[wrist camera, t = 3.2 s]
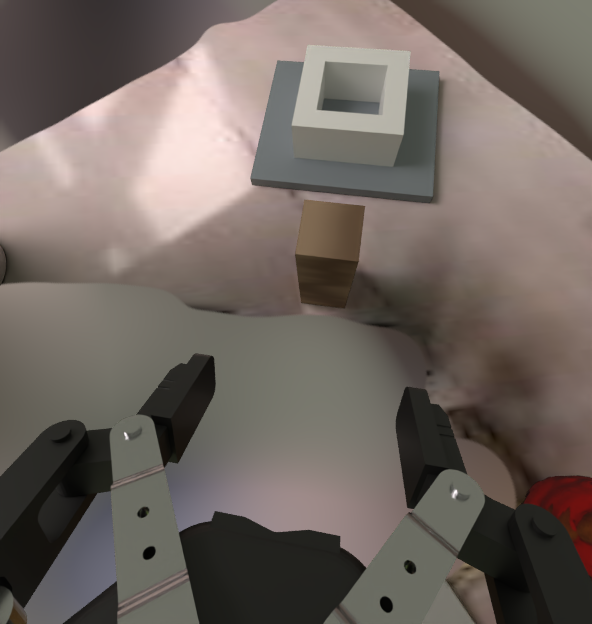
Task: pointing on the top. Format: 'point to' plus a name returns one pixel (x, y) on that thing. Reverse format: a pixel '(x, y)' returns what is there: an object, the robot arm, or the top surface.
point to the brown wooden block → (328, 251)
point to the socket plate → (346, 174)
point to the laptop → (447, 609)
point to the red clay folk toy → (568, 509)
